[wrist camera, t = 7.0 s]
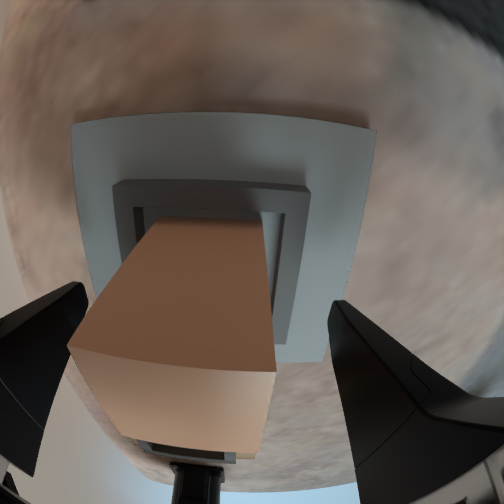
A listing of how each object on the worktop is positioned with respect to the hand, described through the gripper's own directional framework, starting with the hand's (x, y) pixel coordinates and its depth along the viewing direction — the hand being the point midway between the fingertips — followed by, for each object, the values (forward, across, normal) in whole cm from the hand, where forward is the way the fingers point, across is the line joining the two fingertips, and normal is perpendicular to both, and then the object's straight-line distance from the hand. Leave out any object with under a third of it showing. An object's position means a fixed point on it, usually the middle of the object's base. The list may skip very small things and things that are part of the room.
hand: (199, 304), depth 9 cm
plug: (+3, 0, 0) cm, 3 cm away
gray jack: (+3, 0, 0) cm, 3 cm away
